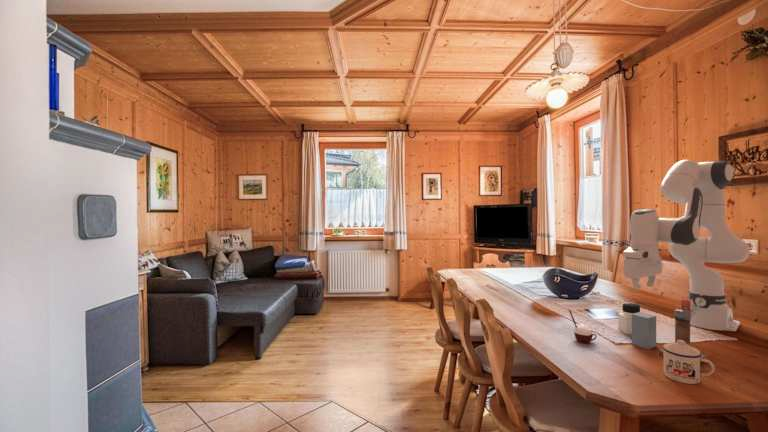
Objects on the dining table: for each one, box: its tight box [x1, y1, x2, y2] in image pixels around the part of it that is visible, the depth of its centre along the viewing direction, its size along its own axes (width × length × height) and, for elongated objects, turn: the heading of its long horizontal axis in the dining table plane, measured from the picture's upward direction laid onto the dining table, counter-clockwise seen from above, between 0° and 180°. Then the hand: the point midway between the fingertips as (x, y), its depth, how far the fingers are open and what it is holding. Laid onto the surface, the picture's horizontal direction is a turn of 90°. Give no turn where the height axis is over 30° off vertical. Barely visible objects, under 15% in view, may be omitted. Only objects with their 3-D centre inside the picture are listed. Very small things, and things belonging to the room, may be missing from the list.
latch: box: [673, 297, 699, 321], centre depth 125 cm, size 4×18×6 cm, turn 127°
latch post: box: [658, 318, 708, 364], centre depth 121 cm, size 10×10×13 cm
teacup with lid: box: [662, 340, 715, 385], centre depth 106 cm, size 12×9×12 cm
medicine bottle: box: [617, 302, 641, 335], centre depth 145 cm, size 7×7×12 cm
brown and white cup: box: [568, 309, 598, 344], centre depth 137 cm, size 10×6×12 cm, turn 46°
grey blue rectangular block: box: [631, 311, 657, 350], centre depth 132 cm, size 6×6×12 cm
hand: (643, 287), depth 131 cm, fingers open, 8 cm apart
